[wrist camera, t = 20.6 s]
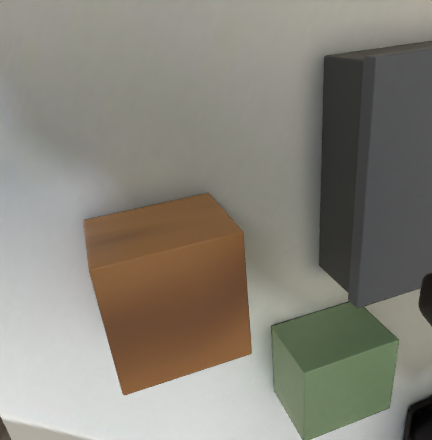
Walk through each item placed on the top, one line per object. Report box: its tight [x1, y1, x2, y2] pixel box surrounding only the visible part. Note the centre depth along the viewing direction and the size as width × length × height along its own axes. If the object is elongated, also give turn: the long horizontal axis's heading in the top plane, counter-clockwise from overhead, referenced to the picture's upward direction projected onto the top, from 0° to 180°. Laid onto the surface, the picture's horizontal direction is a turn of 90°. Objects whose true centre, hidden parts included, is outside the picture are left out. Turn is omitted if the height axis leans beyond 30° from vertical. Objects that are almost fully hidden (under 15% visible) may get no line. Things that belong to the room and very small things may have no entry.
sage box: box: [272, 302, 399, 440], centre depth 25 cm, size 6×6×4 cm
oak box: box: [83, 193, 252, 395], centre depth 19 cm, size 6×6×4 cm
